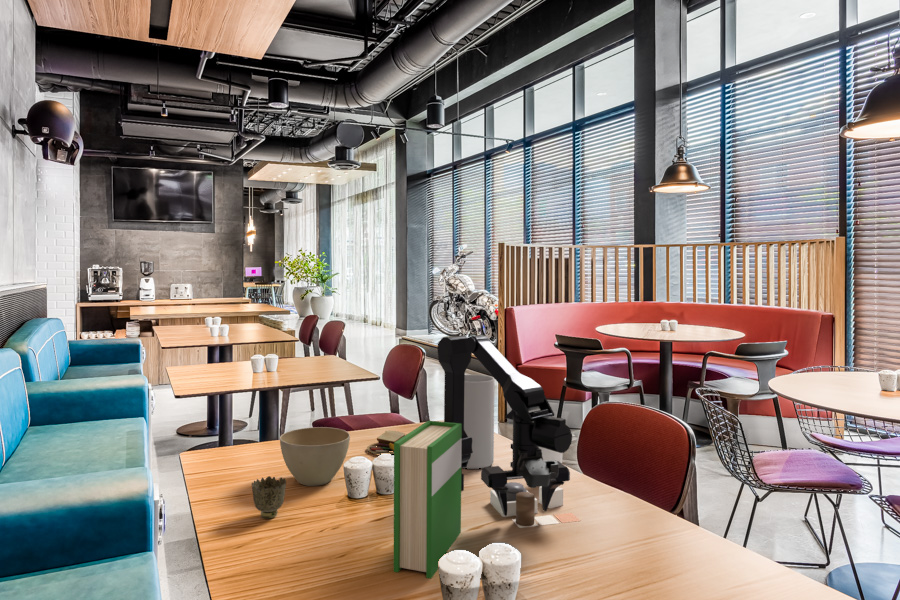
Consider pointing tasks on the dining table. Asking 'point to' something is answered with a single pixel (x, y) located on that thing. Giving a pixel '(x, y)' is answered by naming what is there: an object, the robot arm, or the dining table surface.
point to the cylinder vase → (479, 419)
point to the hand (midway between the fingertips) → (525, 512)
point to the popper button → (514, 490)
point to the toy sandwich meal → (385, 442)
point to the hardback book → (427, 495)
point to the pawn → (525, 508)
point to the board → (540, 519)
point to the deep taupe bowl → (314, 453)
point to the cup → (268, 495)
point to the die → (553, 497)
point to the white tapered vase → (551, 455)
